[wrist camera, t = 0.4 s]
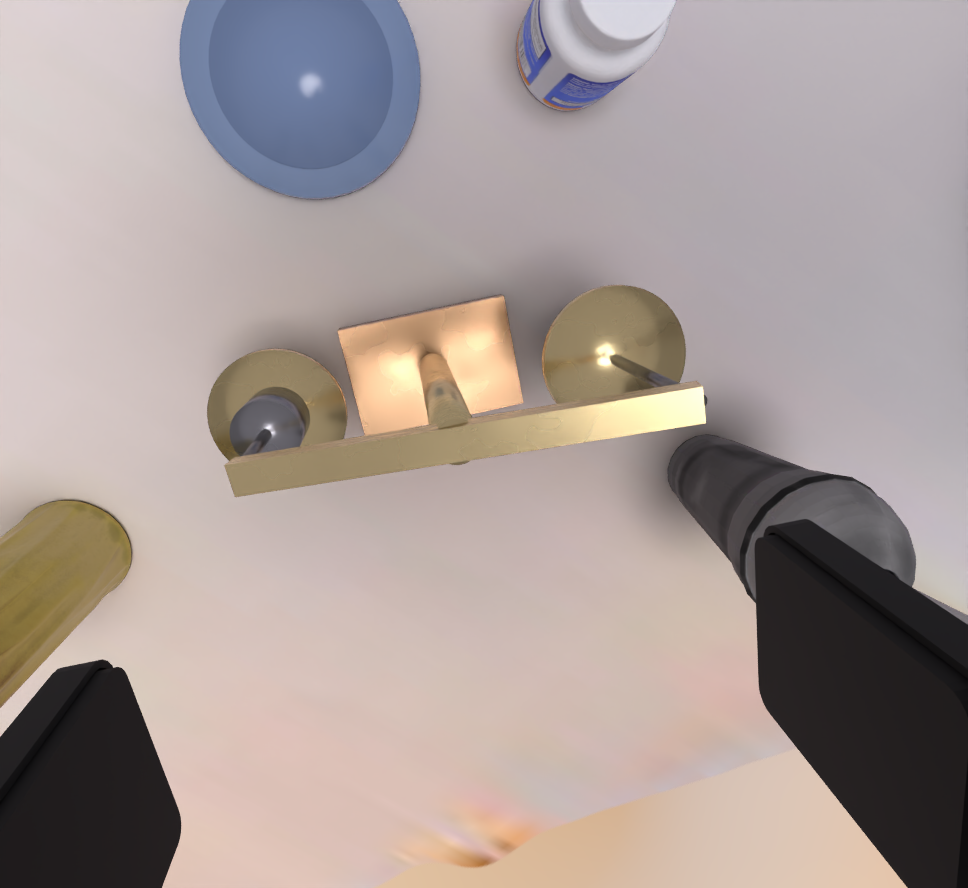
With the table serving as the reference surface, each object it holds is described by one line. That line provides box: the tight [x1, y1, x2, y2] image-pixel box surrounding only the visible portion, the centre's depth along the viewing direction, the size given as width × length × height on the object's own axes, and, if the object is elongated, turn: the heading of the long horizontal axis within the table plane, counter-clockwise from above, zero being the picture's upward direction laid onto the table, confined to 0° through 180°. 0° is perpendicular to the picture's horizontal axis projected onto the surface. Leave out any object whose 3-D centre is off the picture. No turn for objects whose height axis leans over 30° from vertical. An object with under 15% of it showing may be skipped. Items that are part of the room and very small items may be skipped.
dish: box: [180, 0, 420, 199], centre depth 31 cm, size 11×11×1 cm
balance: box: [207, 285, 707, 497], centre depth 28 cm, size 22×6×18 cm, turn 101°
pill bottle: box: [516, 0, 677, 111], centre depth 28 cm, size 5×5×10 cm
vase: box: [0, 501, 131, 708], centre depth 30 cm, size 6×6×14 cm
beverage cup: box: [668, 435, 968, 624], centre depth 31 cm, size 7×7×20 cm
